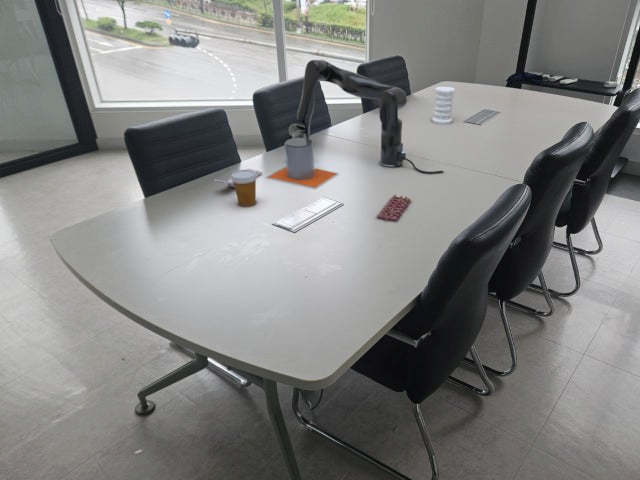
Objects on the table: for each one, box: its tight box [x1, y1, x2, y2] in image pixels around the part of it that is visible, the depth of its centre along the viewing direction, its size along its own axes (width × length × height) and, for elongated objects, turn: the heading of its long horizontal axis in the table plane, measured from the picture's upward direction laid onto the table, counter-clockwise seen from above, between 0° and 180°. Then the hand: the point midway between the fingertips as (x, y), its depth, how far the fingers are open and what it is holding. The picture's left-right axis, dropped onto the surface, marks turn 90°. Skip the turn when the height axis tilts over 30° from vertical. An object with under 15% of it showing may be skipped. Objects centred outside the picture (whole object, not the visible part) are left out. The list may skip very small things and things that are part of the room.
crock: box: [284, 138, 316, 180], centre depth 218 cm, size 12×12×15 cm
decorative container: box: [431, 86, 455, 125], centre depth 289 cm, size 12×12×18 cm
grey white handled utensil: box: [214, 168, 263, 188], centre depth 212 cm, size 6×6×25 cm
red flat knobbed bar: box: [377, 194, 411, 222], centre depth 193 cm, size 7×19×2 cm, turn 160°
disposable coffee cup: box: [230, 169, 258, 207], centre depth 194 cm, size 10×10×12 cm
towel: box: [268, 167, 338, 188], centre depth 221 cm, size 24×18×1 cm
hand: (300, 155), depth 225 cm, fingers closed
